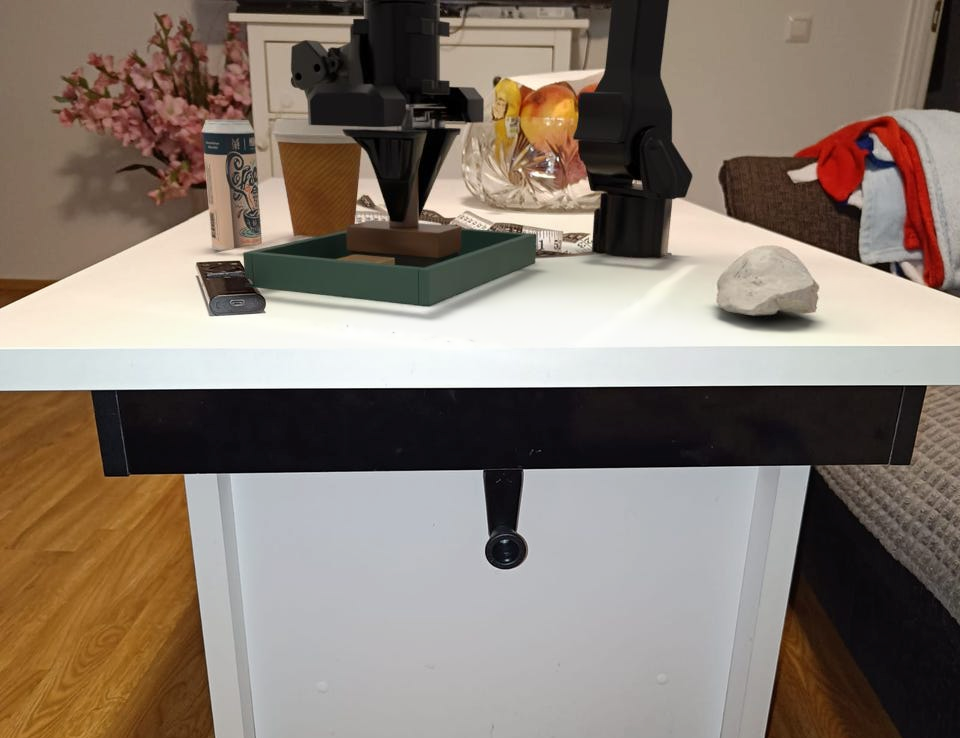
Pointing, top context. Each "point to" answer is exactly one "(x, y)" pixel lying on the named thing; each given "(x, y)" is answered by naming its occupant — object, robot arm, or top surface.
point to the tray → (387, 268)
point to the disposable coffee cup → (318, 175)
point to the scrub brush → (405, 238)
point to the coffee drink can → (232, 184)
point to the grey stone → (767, 284)
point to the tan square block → (369, 259)
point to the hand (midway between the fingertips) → (405, 219)
